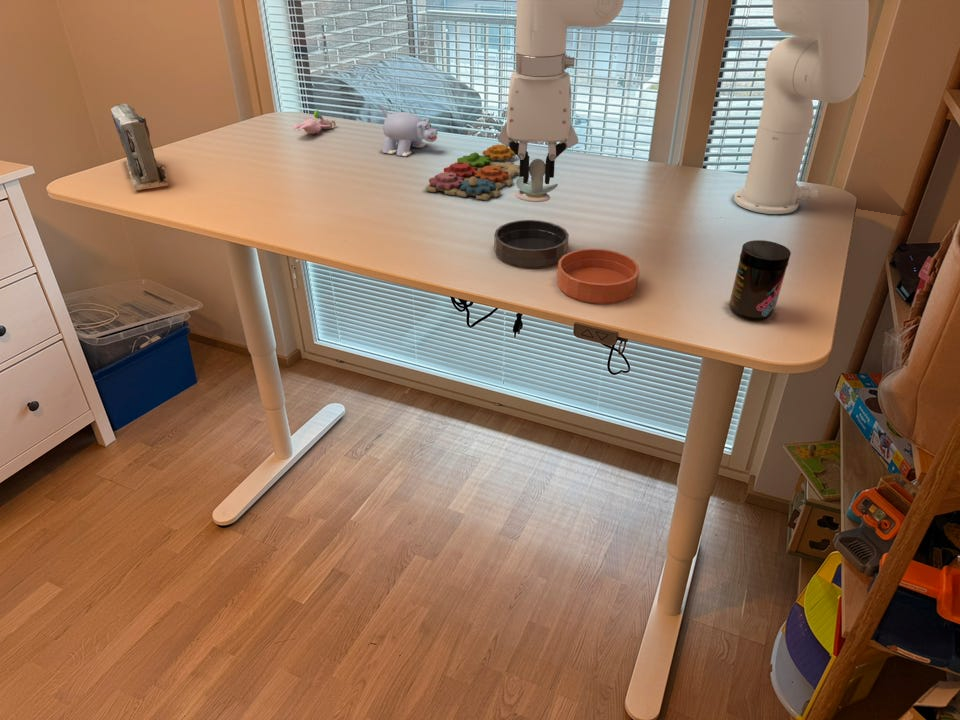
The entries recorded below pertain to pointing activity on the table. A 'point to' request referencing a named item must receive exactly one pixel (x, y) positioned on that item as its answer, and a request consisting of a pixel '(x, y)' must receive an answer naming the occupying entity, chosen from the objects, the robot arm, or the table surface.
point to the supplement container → (758, 279)
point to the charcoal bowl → (530, 243)
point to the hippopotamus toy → (405, 132)
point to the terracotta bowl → (597, 276)
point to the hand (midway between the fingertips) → (536, 180)
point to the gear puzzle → (477, 174)
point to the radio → (138, 148)
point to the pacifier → (534, 184)
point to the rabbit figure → (314, 124)
